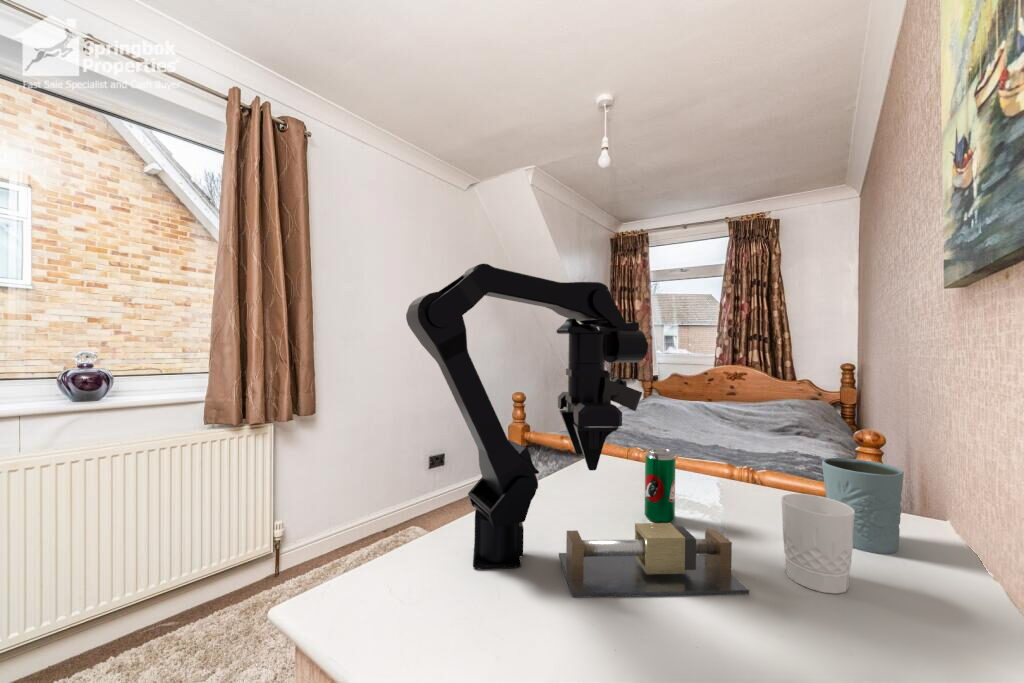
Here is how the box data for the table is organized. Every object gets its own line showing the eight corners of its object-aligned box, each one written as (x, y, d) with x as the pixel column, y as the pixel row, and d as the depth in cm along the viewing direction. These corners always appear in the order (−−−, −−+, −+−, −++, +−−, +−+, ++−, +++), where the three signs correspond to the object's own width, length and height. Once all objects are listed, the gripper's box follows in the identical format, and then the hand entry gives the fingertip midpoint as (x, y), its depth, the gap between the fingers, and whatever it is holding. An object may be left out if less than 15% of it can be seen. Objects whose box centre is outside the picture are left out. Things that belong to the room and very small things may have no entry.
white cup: (821, 601, 52) (822, 518, 52) (766, 568, 60) (767, 496, 60) (870, 592, 54) (870, 512, 54) (811, 561, 62) (812, 491, 62)
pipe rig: (572, 597, 52) (572, 555, 52) (558, 556, 62) (559, 521, 62) (748, 594, 53) (749, 553, 53) (707, 554, 63) (708, 520, 63)
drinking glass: (895, 563, 62) (896, 479, 62) (812, 537, 69) (813, 463, 70) (908, 543, 68) (909, 466, 68) (831, 522, 76) (832, 453, 76)
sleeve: (646, 574, 55) (647, 538, 55) (634, 556, 60) (635, 523, 60) (684, 573, 56) (685, 537, 56) (669, 556, 60) (670, 523, 60)
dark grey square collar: (683, 570, 56) (684, 539, 56) (670, 554, 60) (671, 526, 60) (695, 569, 56) (696, 539, 56) (682, 554, 60) (682, 525, 60)
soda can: (677, 526, 73) (677, 455, 73) (646, 523, 74) (646, 453, 74) (672, 514, 78) (673, 448, 78) (643, 512, 79) (643, 446, 79)
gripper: (659, 366, 60) (658, 480, 60) (618, 361, 78) (617, 447, 78) (579, 366, 59) (578, 480, 59) (557, 360, 78) (556, 447, 78)
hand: (585, 461), depth 68 cm, fingers open, 9 cm apart
